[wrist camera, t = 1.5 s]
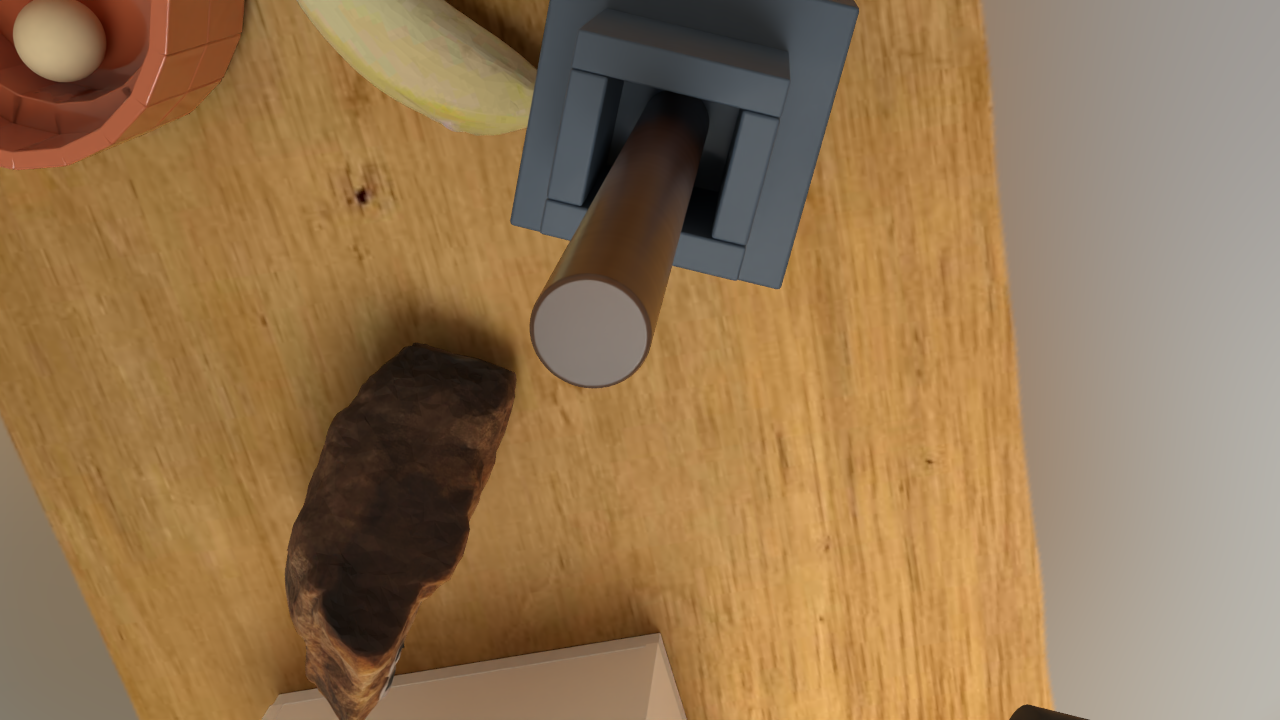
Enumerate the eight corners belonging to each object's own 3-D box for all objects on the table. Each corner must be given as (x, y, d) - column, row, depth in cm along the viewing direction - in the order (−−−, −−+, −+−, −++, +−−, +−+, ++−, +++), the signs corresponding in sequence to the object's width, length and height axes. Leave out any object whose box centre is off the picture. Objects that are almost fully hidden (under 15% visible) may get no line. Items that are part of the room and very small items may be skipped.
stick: (650, 81, 28) (541, 261, 15) (716, 97, 28) (662, 291, 15) (635, 146, 28) (519, 374, 15) (700, 162, 28) (636, 403, 15)
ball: (44, -17, 40) (-6, -10, 37) (123, 2, 40) (78, 10, 37) (43, 64, 41) (-6, 77, 38) (121, 83, 41) (77, 97, 38)
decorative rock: (434, 603, 49) (347, 790, 39) (301, 541, 48) (178, 714, 38) (552, 371, 44) (487, 516, 34) (405, 299, 44) (296, 425, 34)
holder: (623, -82, 38) (525, -54, 23) (835, -32, 38) (873, 29, 23) (582, 129, 40) (470, 275, 26) (779, 177, 40) (780, 351, 26)
